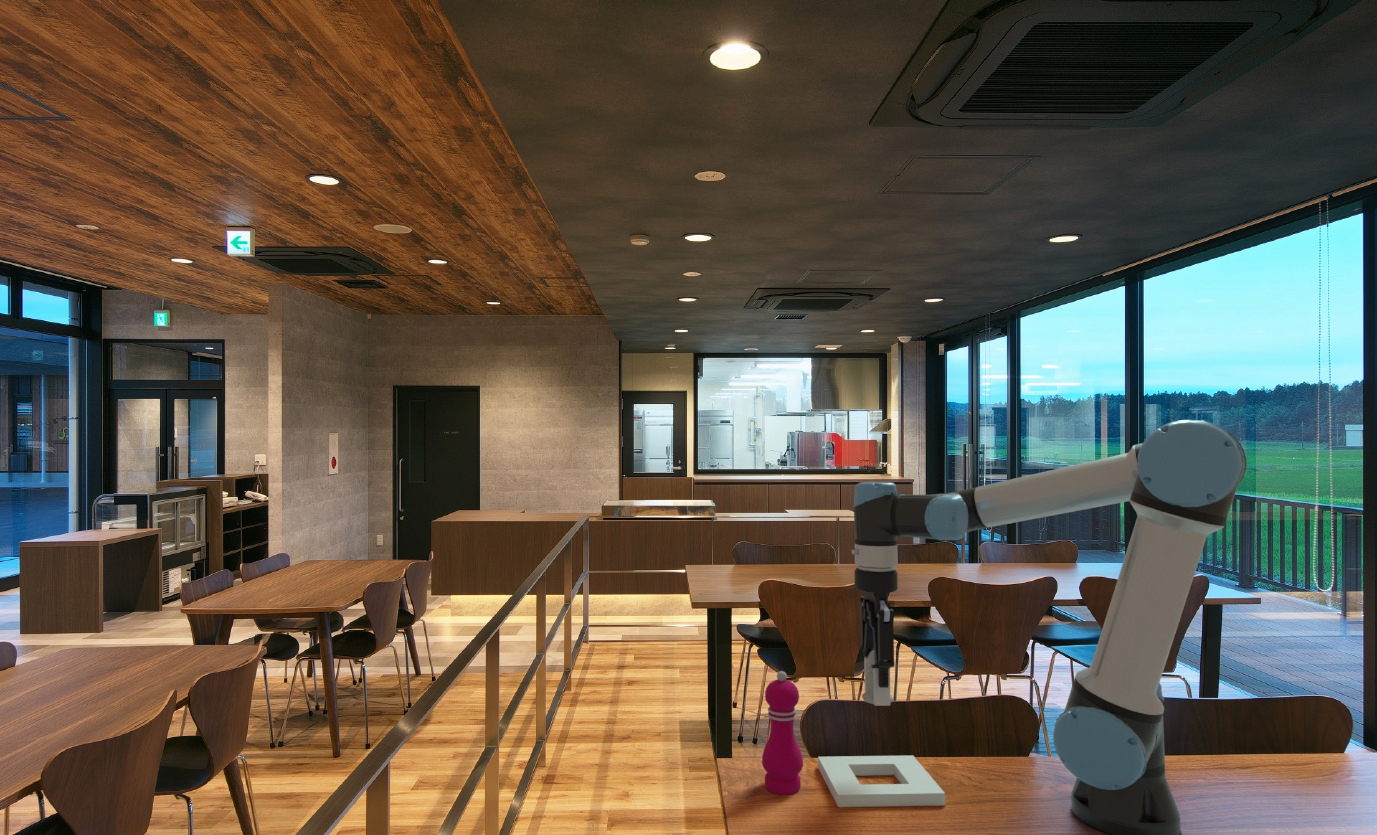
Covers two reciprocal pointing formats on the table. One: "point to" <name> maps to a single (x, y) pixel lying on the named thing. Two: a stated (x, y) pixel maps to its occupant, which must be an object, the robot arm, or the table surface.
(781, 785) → the pepper mill
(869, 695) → the chess piece
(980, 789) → the table surface
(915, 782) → the socket board
